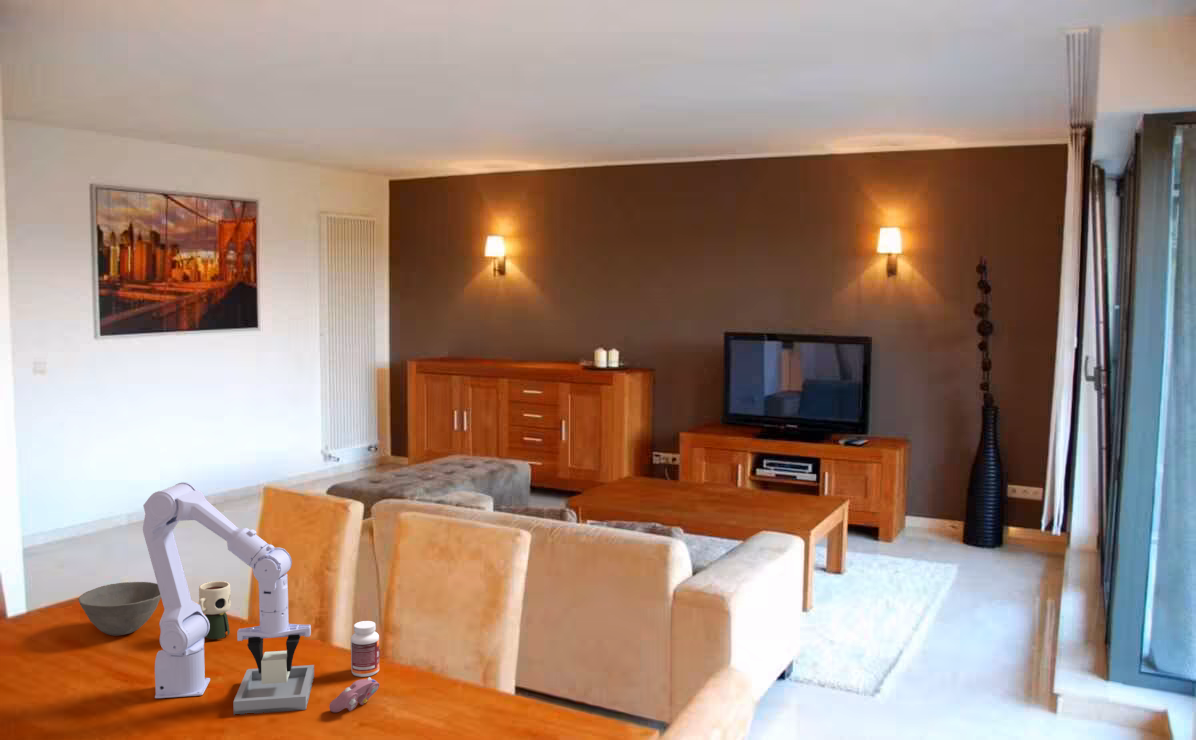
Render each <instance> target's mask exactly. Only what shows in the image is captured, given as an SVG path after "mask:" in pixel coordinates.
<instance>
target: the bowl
mask: <svg viewBox="0 0 1196 740" xmlns="http://www.w3.org/2000/svg"><path fill="white" fill-rule="evenodd" d="M161 600H162V598H161V595H160V591H159V588H158V584H157V582H156V583H155V582H149V581H129V582H126V581H125V582H117V583H111V584H106V585H103V586H99V587H96V588H93V589H91V590H88V591H86V592H84V593H82V594H81V595H80V596H79V597H78V603H79V605H80V607H81V608H82V610H83V611H84V614H85V615H86V616H87V618H88V620H89V621H90V623H92V624H93V626H95V627H96V628H97V630H99V631H100V632H102V633H104V634H105V635H109V636H116V637H117V636H125V635H129V634H131V633H134V632H135V631H137V630H139V629H140V628H141V627H143V625H145V624H146V623H147V622H148V621H149V620H150V619H151V617H152V615H153V614H154V613H155V611H156V609H157V607H158V605H159V602H160V601H161Z"/></svg>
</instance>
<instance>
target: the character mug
mask: <svg viewBox="0 0 1196 740" xmlns="http://www.w3.org/2000/svg"><path fill="white" fill-rule="evenodd" d="M231 593H232V591H231V583H229V582H228V581H225V580H217V581H216V580H213V581H208V582H205V583H202V584H200V585H199V587H198V604H199V605H200V606H201V610H202V612H203V614H204V615H205V616H206V617H207V619H208V621H209V624H210V629H209V632H208V634H207V635H206V637H204V639H205V638H206V639H209V640H218V639H222V638H225V637H226V632H227V636H229V635H230V634H231V633H230V625H229V624H230V623H229V619H228V614H227V612H228V611H230V609H231V605H232V600H231Z"/></svg>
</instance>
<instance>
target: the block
mask: <svg viewBox="0 0 1196 740" xmlns="http://www.w3.org/2000/svg"><path fill="white" fill-rule="evenodd" d="M289 674H290V671H288V672H287V650H277V651H276V650H273V651H265V652H263V658H262V660H261V676H262V684H272V683H287V680H288V677H289Z"/></svg>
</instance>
